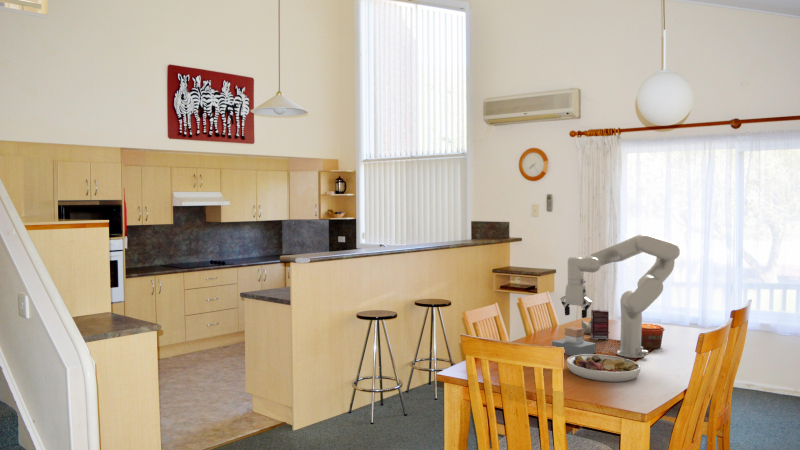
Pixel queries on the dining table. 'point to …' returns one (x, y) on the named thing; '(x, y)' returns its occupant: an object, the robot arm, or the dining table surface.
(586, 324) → the ceramic sculpture
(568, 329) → the housing
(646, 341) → the food container
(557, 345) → the stand
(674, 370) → the dining table surface
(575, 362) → the bowl
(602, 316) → the supplement box
